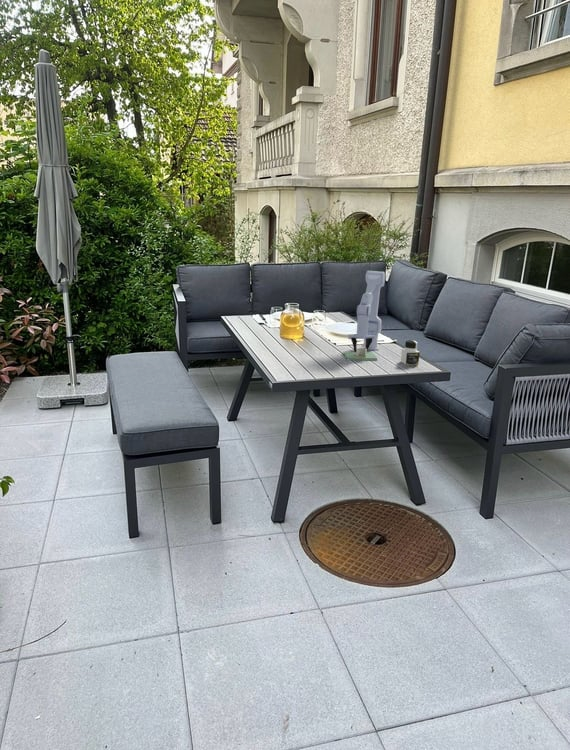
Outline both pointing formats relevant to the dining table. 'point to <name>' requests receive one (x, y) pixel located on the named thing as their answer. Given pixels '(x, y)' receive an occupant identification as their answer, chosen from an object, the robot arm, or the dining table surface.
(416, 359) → the medicine bottle
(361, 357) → the header board
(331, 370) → the dining table surface
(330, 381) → the dining table surface
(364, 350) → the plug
